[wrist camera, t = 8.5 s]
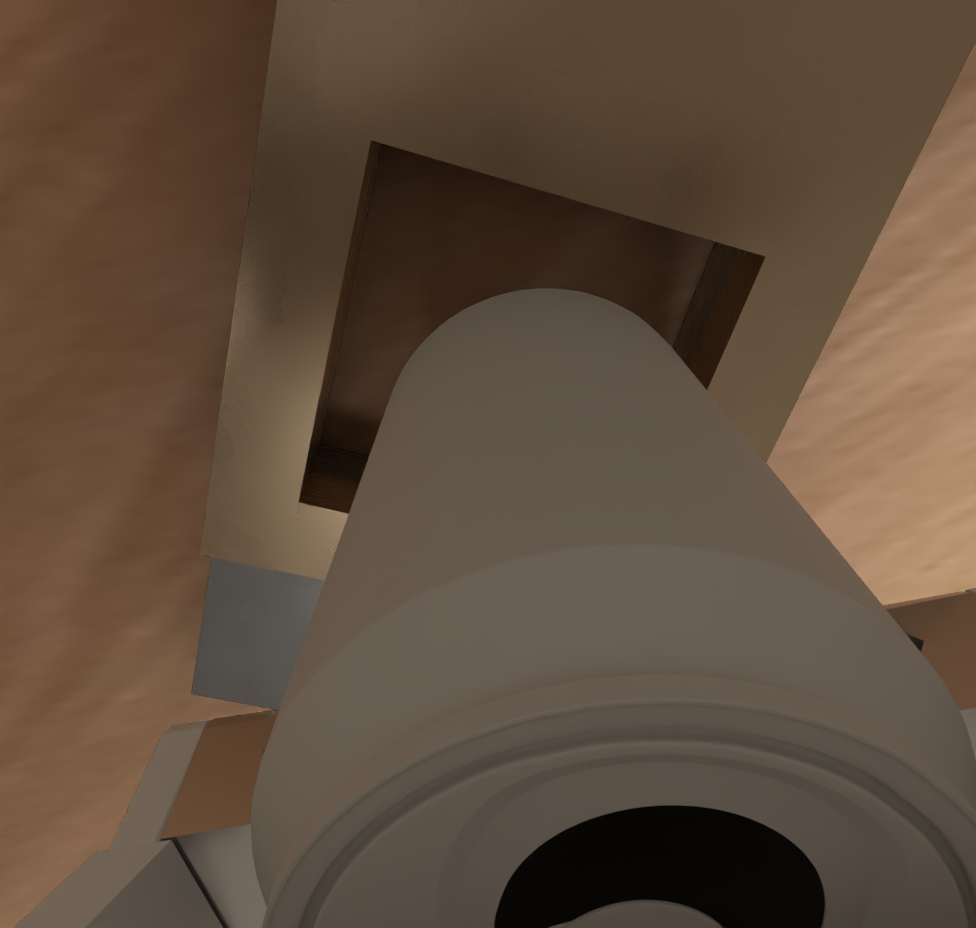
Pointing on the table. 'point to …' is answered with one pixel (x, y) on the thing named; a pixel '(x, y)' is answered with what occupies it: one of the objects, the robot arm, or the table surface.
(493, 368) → the beverage can
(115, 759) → the table surface
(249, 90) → the table surface
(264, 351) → the plate with brass posts
